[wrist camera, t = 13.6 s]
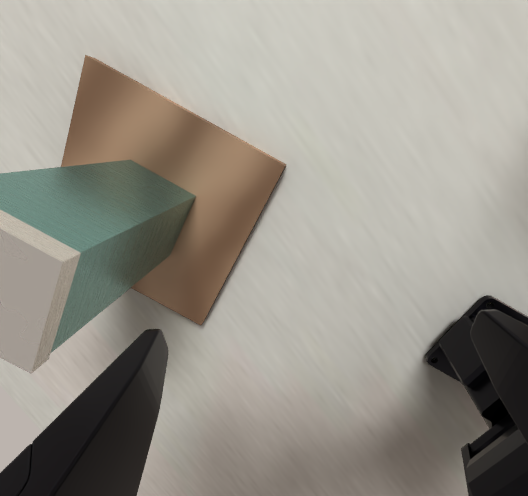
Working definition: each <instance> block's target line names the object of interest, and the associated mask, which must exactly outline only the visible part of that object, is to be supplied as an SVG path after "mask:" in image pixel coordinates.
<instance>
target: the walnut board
mask: <svg viewBox="0 0 528 496" xmlns="http://www.w3.org/2000/svg"><path fill="white" fill-rule="evenodd" d="M122 160H132V161H134V162H136V163H138V164H139V165H141V166H143V167H145V168H147V169H148V170H150V171H152V172H154V173H156V174H157V175H159V176H161V177H163V178H165V179H166V180H168V181H170V182H172V183H174V184H175V185H177V186H179V187H181V188H183V189H184V190H186V191H188V192H190V193H192V194H193V195H195V196H196V198H195V200H194V202H193V205H192V207H191V209H190V211H189V214H188V216H187V218H186V220H185V223H184V225H183V227H182V230H181V232H180V234H179V236H178V239H177V241H176V243H175V246H174V248H173V250H172V252H171V255H170V256H169V257H167V258H166V259H165V260H164V261H163V262H161V263H160V264H159V265H158V266H156V267H155V268H154V269H153V270H152V271H150V272H149V273H148V274H147V275H145V276H144V277H143V278H142V279H141V280H139V281H138V282H137V283H136V284H134V285H133V286H132V287H131V288H132V289H134V290H136V291H138V292H140V293H142V294H144V295H145V296H147V297H149V298H151V299H153V300H155V301H157V302H158V303H160V304H162V305H164V306H166V307H168V308H169V309H171V310H173V311H175V312H177V313H179V314H181V315H182V316H184V317H186V318H188V319H190V320H192V321H194V322H195V323H197V324H199V325H202V323H203V322H204V320H205V318H206V316H207V314H208V313H209V311H210V309H211V307H212V305H213V303H214V301H215V299H216V297H217V295H218V294H219V292H220V290H221V288H222V286H223V284H224V282H225V280H226V278H227V276H228V275H229V273H230V271H231V269H232V267H233V265H234V263H235V261H236V259H237V257H238V256H239V254H240V252H241V250H242V248H243V246H244V244H245V242H246V240H247V238H248V237H249V235H250V233H251V231H252V229H253V227H254V225H255V223H256V221H257V219H258V218H259V216H260V214H261V212H262V210H263V208H264V206H265V204H266V202H267V200H268V199H269V197H270V195H271V193H272V191H273V189H274V187H275V185H276V183H277V181H278V180H279V178H280V176H281V174H282V172H283V170H284V168H285V166H286V164H284V163H283V162H281V161H279V160H277V159H275V158H274V157H272V156H270V155H268V154H266V153H265V152H263V151H261V150H259V149H257V148H256V147H254V146H252V145H250V144H248V143H247V142H245V141H243V140H241V139H239V138H238V137H236V136H234V135H232V134H230V133H229V132H227V131H225V130H223V129H221V128H219V127H218V126H216V125H214V124H212V123H210V122H209V121H207V120H205V119H203V118H201V117H200V116H198V115H196V114H194V113H192V112H191V111H189V110H187V109H185V108H183V107H182V106H180V105H178V104H176V103H174V102H173V101H171V100H169V99H167V98H165V97H164V96H162V95H160V94H158V93H156V92H155V91H153V90H151V89H149V88H147V87H146V86H144V85H142V84H140V83H138V82H137V81H135V80H133V79H131V78H129V77H128V76H126V75H124V74H122V73H120V72H119V71H117V70H115V69H113V68H111V67H110V66H108V65H106V64H104V63H102V62H101V61H99V60H97V59H95V58H92V57H89V56H87V55H85V60H84V64H83V69H82V73H81V78H80V82H79V87H78V92H77V96H76V101H75V105H74V110H73V114H72V119H71V124H70V128H69V133H68V137H67V142H66V146H65V151H64V156H63V160H62V165H61V167H67V166H76V165H85V164H94V163H103V162H113V161H122Z"/></svg>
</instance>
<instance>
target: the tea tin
mask: <svg viewBox="0 0 528 496" xmlns="http://www.w3.org/2000/svg"><path fill="white" fill-rule="evenodd" d="M195 198H196V196H195V195H193V194H192V193H190V192H188V191H186V190H184V189H183V188H181V187H179V186H177V185H175V184H174V183H172V182H170V181H168V180H166V179H165V178H163V177H161V176H159V175H157V174H156V173H154V172H152V171H150V170H148V169H147V168H145V167H143V166H141V165H139V164H138V163H136V162H134V161H132V160H122V161H113V162H103V163H94V164H85V165H76V166H67V167H57V168H48V169H39V170H30V171H21V172H11V173H2V174H0V358H2V359H4V360H6V361H8V362H10V363H12V364H14V365H15V366H17V367H19V368H21V369H23V370H25V371H27V372H29V373H33V372H34V371H35V370H36V369H37V368H39V367H40V366H41V365H42V364H43V363H45V362H46V361H47V360H48V359H49V356H50V353H51V352H53V351H54V350H55V349H56V348H57V347H59V346H60V345H61V344H62V343H64V342H65V341H66V340H67V339H68V338H70V337H71V336H72V335H73V334H75V333H76V332H77V331H78V330H79V329H81V328H82V327H83V326H84V325H86V324H87V323H88V322H89V321H90V320H92V319H93V318H94V317H95V316H97V315H98V314H99V313H100V312H101V311H103V310H104V309H105V308H106V307H108V306H109V305H110V304H111V303H112V302H114V301H115V300H116V299H117V298H119V297H120V296H121V295H122V294H123V293H125V292H126V291H127V290H128V289H130V288H131V287H132V286H133V285H134V284H136V283H137V282H138V281H139V280H141V279H142V278H143V277H144V276H145V275H147V274H148V273H149V272H150V271H152V270H153V269H154V268H155V267H156V266H158V265H159V264H160V263H161V262H163V261H164V260H165V259H166V258H167V257H169V256H170V255H171V252H172V250H173V248H174V246H175V243H176V241H177V239H178V236H179V234H180V232H181V230H182V227H183V225H184V223H185V220H186V218H187V216H188V214H189V211H190V209H191V207H192V205H193V202H194V200H195Z"/></svg>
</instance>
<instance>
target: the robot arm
mask: <svg viewBox="0 0 528 496" xmlns="http://www.w3.org/2000/svg"><path fill="white" fill-rule="evenodd" d="M488 302H491V304H489V305H486V304H487V303H488ZM425 358H426V360H427V362H428V364H429V365H431V366H433V367H435V368H436V369H438V370H440V371H442V372H444V373H445V374H447V375H449V376H451V377H453V378H454V379H456V380H458V381H460V382H461V383H462V384H463V385H464V387H465V388H466V390H467V392H468V393H469V395H470V397H471V398H472V400H473V402H474V403H475V405H476V407H477V409H478V410H479V412H480V414H481V415H482V417H483V418H484V420H485V422H486V423H487V425H488V427H489V428H490V429H489V430H488V431H486V432H485V433H484V434H483V435H481V436H480V437H479V438H478V439H476V440H475V441H474V442H473V443H471V444H469V443H468V444H466V445H465V446H464V447H463V448H461V451H462V457H463V463H464V470H465V476H466V482H467V488H468V494H469V496H528V316H526V315H524V314H522V313H521V312H519V311H517V310H515V309H514V308H512V307H510V306H508V305H507V304H505V303H503V302H501V301H500V300H498V299H496V298H494V297H492V296H484V297H482V298H481V299H480V300H479V301H478V302H477V303H476V304H475V305H474V306H473V307H472V308H471V309H470V310H469V311H468V312H467V313H466V314H465V315H464V316H463V317H462V318H461V319H460V320H459V321H458V322H457V323H456V324H455V325H454V326H453V327H452V328H451V329H450V330H449V331H448V332H447V333H446V334H445V335H444V336H443V337H442V338H441V339H440V340H439V342H438V343H437V344H436V345H435V346H434V347H433V348H432V349H431V350H430V351H429V352H428V353H427V354H426V356H425ZM432 358H436V359H433V360H432ZM167 360H168V347H167V344H166V341H165V338H164V335H163V333H162V331H161V330H160V329H149V330H146V331H144V332H143V333H142V334H141V335H140V336H139V337H138V338H137V339H136V340H135V341H134V342H133V343H132V344H131V345H130V346H129V347H128V348H127V349H126V350H125V351H124V352H123V353H122V354H121V355H120V356H119V357H118V358H117V359H116V360H115V361H114V362H113V363H112V364H111V365H110V366H109V367H108V368H107V369H106V370H105V371H104V372H103V373H101V374H100V375H99V376H98V377H97V378H96V379H95V380H94V381H93V382H92V383H91V384H90V385H89V386H88V387H87V388H86V389H85V390H84V391H83V392H82V393H81V394H80V395H79V396H78V397H77V398H76V399H75V400H74V401H73V402H72V403H71V404H70V405H69V406H68V407H67V408H66V409H65V410H64V411H63V412H62V413H61V414H60V415H59V416H58V417H57V418H56V419H55V420H54V421H53V422H52V423H51V424H50V425H49V426H48V427H47V428H46V429H45V430H44V431H43V432H42V433H41V434H40V435H39V436H38V437H37V438H36V439H35V440H34V441H33V443H32V444H30V445H29V446H27V447H26V448H25V449H24V450H23V451H22V452H21V453H20V454H19V455H18V456H17V457H16V458H15V459H14V460H13V461H12V462H11V463H10V464H9V465H8V466H7V467H6V468H5V469H4V470H3V471H2V472H1V473H0V496H137V492H138V488H139V485H140V481H141V477H142V473H143V470H144V466H145V462H146V459H147V455H148V451H149V447H150V444H151V440H152V436H153V432H154V429H155V425H156V421H157V418H158V413H159V409H160V404H161V398H162V392H163V386H164V379H165V373H166V366H167Z"/></svg>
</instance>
